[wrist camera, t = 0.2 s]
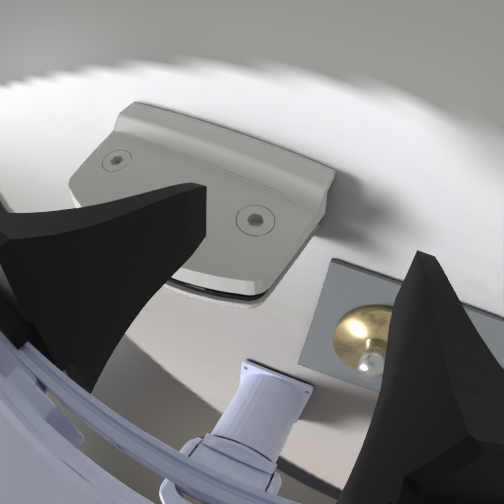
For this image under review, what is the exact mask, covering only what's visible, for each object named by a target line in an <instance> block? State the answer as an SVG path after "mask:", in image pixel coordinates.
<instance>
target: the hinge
mask: <svg viewBox="0 0 504 504" xmlns="http://www.w3.org/2000/svg"><path fill="white" fill-rule="evenodd" d="M335 172H336V170H334V169H331V168H329V167H327V166H324V165H322V164H320V163H317V162H315V161H312V160H310V159H308V158H305V157H303V156H300V155H298V154H295V153H292V152H290V151H287V150H285V149H282V148H280V147H277V146H274V145H272V144H269V143H266V142H263V141H261V140H258V139H255V138H252V137H250V136H247V135H244V134H241V133H238V132H235V131H232V130H229V129H226V128H223V127H220V126H217V125H214V124H211V123H208V122H204V121H201V120H198V119H195V118H191V117H188V116H185V115H181V114H178V113H174V112H171V111H167V110H163V109H160V108H156V107H152V106H148V105H145V104H141V103H137V102H133V103H132V104H131V105H129V106H128V107H127V108H125V109H124V110H123V111H122V112H120V114H119V115H118V117H117V120H116V123H115V127H114V129H113V131H112V133H111V134H110V135H109V136H108V137H107V138H106V139H105V140H104V141H103V142H102V143H101V144H100V145H99V146H98V147H97V149H96V150H95V151H94V152H93V153H92V154H91V155H90V156H89V157H88V158H87V159H86V161H85V162H84V163H83V164H82V165H81V166H80V167H79V169H78V170H77V171H76V172H75V173H74V174H73V176H72V177H71V178H70V180H69V189H70V193H71V197H72V201H73V202H74V204H75V206H76V208H80V207H86V206H91V205H97V204H101V203H106V202H110V201H114V200H118V199H122V198H126V197H130V196H134V195H138V194H142V193H145V192H149V191H153V190H157V189H160V188H164V187H168V186H173V185H177V184H182V183H190V182H193V183H197V184H201V185H205V186H207V209H206V237H205V238H204V240H203V241H202V243H201V244H200V245H199V247H198V248H197V249H196V251H195V252H194V253H193V255H192V256H191V257H190V258H189V259H188V260H187V261H186V262H185V263H184V264H183V265H182V267H181V268H180V269H179V270H178V271H177V272H176V273H175V274H174V275H173V276H172V277H171V278H170V279H169V280H168V281H167V282H166V283H165V284H164V285H163V286H164V287H166V288H168V289H171V290H173V291H175V292H178V293H181V294H184V295H186V296H189V297H193V298H196V299H200V300H203V301H207V302H211V303H216V304H221V305H226V306H232V307H239V308H247V309H251V308H255V307H258V306H260V305H261V304H262V303H263V302H264V301H265V300H266V299H267V298H268V297H269V296H270V294H271V293H272V292H273V290H274V289H275V288H276V286H277V285H278V284H279V282H280V281H281V280H282V278H283V277H284V275H285V274H286V273H287V271H288V270H289V269H290V267H291V266H292V265H293V263H294V262H295V260H296V259H297V258H298V256H299V255H300V254H301V252H302V251H303V249H304V248H305V247H306V245H307V244H308V243H309V241H310V240H311V238H312V237H313V236H314V234H315V233H316V231H317V230H318V229H319V227H320V225H318V223H319V221H320V220H321V218H322V217H323V216H324V214H325V212H326V202H327V192H328V190H329V188H330V186H331V184H332V182H333V180H334V178H335Z"/></svg>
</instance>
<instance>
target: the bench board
mask: <svg viewBox="0 0 504 504" xmlns="http://www.w3.org/2000/svg"><path fill="white" fill-rule="evenodd" d="M402 284H403V283H402V282H399V281H396V280H393V279H390V278H388V277H385V276H382V275H379V274H376V273H373V272H370V271H367V270H364V269H361V268H358V267H355V266H352V265H349V264H347V263H344V262H341V261H338V260H335V259H331V262H330V265H329V268H328V272H327V275H326V279H325V282H324V285H323V288H322V292H321V295H320V298H319V301H318V304H317V307H316V311H315V314H314V317H313V320H312V323H311V326H310V329H309V332H308V335H307V338H306V341H305V344H304V347H303V349H302V352H301V355H300V358H299V361H298V365H301V366H304V367H307V368H309V369H312V370H315V371H318V372H320V373H323V374H326V375H329V376H332V377H335V378H337V379H340V380H343V381H346V382H349V383H352V384H355V385H358V386H361V387H364V388H368V389H371V390H374V391H377V392H380V388H381V383H382V378H381V379H380V380H378V381H373V382H370V381H365V380H363V379H361V378H360V377H359V376H358V375H357V370H356V369H354V368H352V367H350V366H348V365H347V364H345V363H344V362H343V361H342V360H341V359H340V358H339V357H338V355H337V354H336V352H335V350H334V347H333V335H334V332H335V329H336V326H337V324H338V322H339V320H340V319H341V317H342V316H343V315H344V314H346V313H347V312H348V311H350V310H352V309H354V308H357V307H360V306H364V305H372V304H378V305H386V306H391V307H393V306H394V301H395V298H396V296H397V294H398V292H399V290H400V288H401V286H402ZM462 306H463V307H464V309H465V311H466V313H467V314H468V316H469V318H470V319H471V321H472V323H473V325H474V326H475V328H476V330H477V331H478V333H479V334H480V336H481V337H482V339H483V340H484V342H485V343H486V345H487V347H488V348H489V350H490V351H491V353H492V354H493V355H494V357H495V358H496V360H497V361H498V363H499V364H500V365H501V367H502V368H503V369H504V319H503V318H500V317H497V316H494V315H492V314H489V313H486V312H483V311H481V310H478V309H475V308H472V307H470V306H467V305H464V304H462Z"/></svg>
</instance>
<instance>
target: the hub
mask: <svg viewBox="0 0 504 504" xmlns="http://www.w3.org/2000/svg"><path fill="white" fill-rule="evenodd" d="M392 310H393V307H391V306H386V305H378V304H372V305H364V306H360V307H357V308H354V309H352V310H350V311H348V312H347V313H346V314H344V315H343V316H342V317H341V319H340V320H339V322H338V324H337V326H336V329H335V332H334V335H333V347H334V350H335V352H336V354H337V355H338V357H339V358H340V359H341V360H342V361H343V362H344V363H345V364H347V365H348V366H350V367H352V368H354V369H356V370H357V375H358V376H359V377H360V378H361V379H363V380H365V381H370V382H373V381H378V380H380V379H381V378H382V377H383V370H384V363H385V355H386V347H387V339H388V331H389V324H390V319H391V315H392Z"/></svg>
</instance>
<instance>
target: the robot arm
mask: <svg viewBox="0 0 504 504" xmlns="http://www.w3.org/2000/svg"><path fill="white" fill-rule="evenodd" d="M206 209H207V186H205V185H201V184H197V183H193V182H190V183H182V184H177V185H173V186H168V187H164V188H160V189H157V190H153V191H149V192H145V193H142V194H138V195H134V196H130V197H126V198H122V199H118V200H114V201H110V202H106V203H101V204H97V205H91V206H86V207H80V208H73V209H66V210H58V211H50V212H36V213H0V504H154V503H153V502H151V501H149V500H148V499H146V498H144V497H143V496H141V495H139V494H138V493H137V492H135V491H134V490H132V489H130V488H129V487H127V486H126V485H125V484H123V483H122V482H120V481H118V480H117V479H116V478H114V477H113V476H111V475H110V474H109V473H107V472H106V471H105V470H103V469H102V468H101V467H99V466H98V465H97V464H95V463H94V462H93V461H92V460H90V459H89V458H88V457H87V456H85V455H84V454H83V453H82V452H80V451H79V450H78V448H79V446H80V445H81V444H82V443H83V441H84V440H85V436H84V435H83V434H82V433H81V432H80V431H79V430H78V429H77V428H76V427H75V426H74V425H73V424H72V423H70V421H69V420H68V419H67V418H66V417H65V416H64V415H63V414H62V412H61V411H60V410H59V409H58V407H57V406H56V405H55V404H54V403H53V402H52V401H51V400H50V399H49V398H48V397H47V396H46V390H47V391H48V392H49V393H50V394H51V395H52V396H53V397H54V398H56V399H57V400H58V401H59V402H60V403H61V404H62V405H63V406H64V407H66V408H67V409H68V410H69V411H70V412H72V413H73V414H74V415H75V416H76V417H78V418H79V419H80V420H81V421H82V422H84V423H85V424H86V425H88V426H89V427H90V428H91V429H93V430H94V431H95V432H97V433H98V434H99V435H101V436H102V437H103V438H105V439H106V440H107V441H109V442H110V443H112V444H113V445H114V446H116V447H117V448H119V449H120V450H122V451H123V452H124V453H126V454H128V455H129V456H130V457H132V458H134V459H135V460H137V461H138V462H140V463H141V464H143V465H145V466H146V467H148V468H150V469H151V470H153V471H155V472H156V473H158V474H159V475H161V476H163V477H165V480H164V482H163V483H162V485H161V487H160V492H159V495H160V498H161V501H162V503H163V504H194V503H192V502H190V501H188V500H187V499H185V498H184V497H183V495H182V493H181V492H183V493H185V494H187V495H189V496H190V497H192V498H194V499H196V500H199V501H200V502H202V503H204V504H300V503H297V502H294V501H291V500H288V499H285V498H282V497H279V496H276V495H277V493H278V491H279V488H280V485H281V478H280V475H279V474H278V473H276V472H274V470H275V468H276V466H277V464H275V463H276V461H277V459H278V457H279V455H280V453H281V450H282V448H283V446H284V444H285V442H286V440H287V437H288V435H289V433H290V431H291V429H292V426H293V424H294V423H296V422H297V420H298V418H299V417H300V415H301V413H302V411H303V409H304V407H305V405H306V403H307V401H308V400H309V398H310V396H311V394H312V392H313V389H314V388H313V386H311V385H309V384H306V383H303V382H300V381H298V380H295V379H293V378H290V377H287V376H285V375H282V374H280V373H277V372H274V371H272V370H269V369H267V368H264V367H262V366H260V365H257V364H255V363H252V362H250V361H247V360H244V361H243V363H242V368H241V377H240V386H239V388H238V390H237V392H236V393H235V395H234V397H233V398H232V400H231V402H230V403H229V405H228V407H227V408H226V410H225V412H224V413H223V415H222V417H221V418H220V420H219V422H218V423H217V425H216V426H215V428H214V430H213V431H212V433H211V435H210V434H208V433H207V434H206V436H205V437H204V439H201V438H195V439H192V440H189V441H188V442H187V443H186V444H185V445H184V446H183V448H182V449H181V450H180V451H177V450H175V449H173V448H172V447H170V446H168V445H166V444H165V443H163V442H161V441H159V440H158V439H156V438H154V437H153V436H151V435H149V434H148V433H146V432H144V431H143V430H141V429H140V428H138V427H136V426H135V425H134V424H132V423H130V422H129V421H127V420H126V419H124V418H123V417H121V416H120V415H118V414H117V413H115V412H114V411H113V410H111V409H110V408H108V407H107V406H106V405H104V404H103V403H101V402H100V401H99V400H97V399H96V398H95V397H93V396H92V395H91V394H90V393H92V391H93V388H94V386H95V384H96V382H97V380H98V378H99V376H100V374H101V372H102V370H103V368H104V367H105V365H106V363H107V361H108V359H109V358H110V356H111V354H112V353H113V351H114V349H115V348H116V346H117V344H118V343H119V341H120V340H121V338H122V337H123V335H124V334H125V332H126V331H127V329H128V328H129V326H130V325H131V323H132V322H133V321H134V319H135V318H136V317H137V315H138V314H139V312H140V311H141V310H142V308H143V307H144V306H145V304H146V303H147V302H148V301H149V300H150V299H151V298H152V296H153V295H154V294H155V293H156V292H157V291H158V290H159V289H160V288H161V287H162V286H163V285H164V284H165V283H166V282H167V281H168V280H169V279H170V278H171V277H172V276H173V275H174V274H175V273H176V272H177V271H178V270H179V269H180V268H181V267H182V265H183V264H184V263H185V262H186V261H187V260H188V259H189V258H190V257H191V256H192V255H193V253H194V252H195V251H196V249H197V248H198V247H199V245H200V244H201V243H202V241H203V240H204V238H205V237H206ZM45 389H46V390H45ZM273 472H274V473H273ZM336 504H504V369H503V368H502V367H501V365H500V364H499V363H498V361H497V360H496V358H495V357H494V355H493V354H492V353H491V351H490V350H489V348H488V347H487V345H486V343H485V342H484V340H483V339H482V337H481V336H480V334H479V333H478V331H477V330H476V328H475V326H474V325H473V323H472V321H471V319H470V318H469V316H468V314H467V313H466V311H465V309H464V307H463V306H462V304H461V302H460V300H459V298H458V297H457V295H456V293H455V291H454V289H453V287H452V286H451V284H450V282H449V280H448V278H447V276H446V275H445V273H444V271H443V269H442V267H441V266H440V264H439V262H438V261H437V259H436V258H435V256H432V255H429V254H426V253H423V252H421V251H418V250H417V252H416V255H415V257H414V259H413V262H412V264H411V266H410V268H409V271H408V273H407V275H406V277H405V279H404V282H403V284H402V286H401V288H400V290H399V292H398V294H397V296H396V298H395V301H394V306H393V310H392V315H391V319H390V324H389V331H388V339H387V347H386V355H385V363H384V370H383V377H382V383H381V388H380V393H379V397H378V401H377V404H376V408H375V411H374V414H373V417H372V420H371V423H370V426H369V429H368V432H367V435H366V438H365V440H364V443H363V446H362V448H361V451H360V453H359V456H358V458H357V460H356V463H355V465H354V467H353V470H352V472H351V474H350V476H349V479H348V481H347V483H346V485H345V487H344V489H343V491H342V493H341V495H340V497H339V499H338V501H337V503H336Z"/></svg>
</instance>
